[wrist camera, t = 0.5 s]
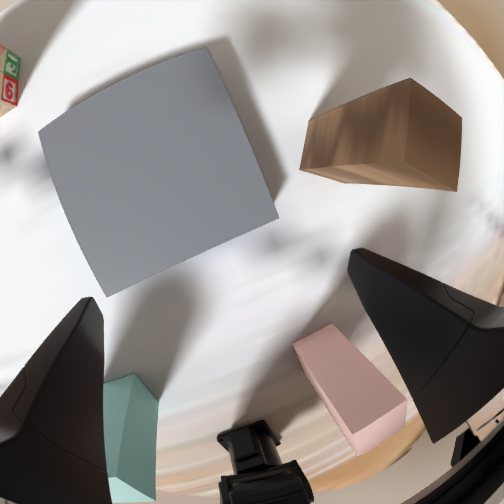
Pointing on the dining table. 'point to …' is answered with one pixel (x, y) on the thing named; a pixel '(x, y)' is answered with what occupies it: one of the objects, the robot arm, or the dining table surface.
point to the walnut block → (387, 140)
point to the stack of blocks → (8, 80)
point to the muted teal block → (130, 439)
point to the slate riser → (155, 171)
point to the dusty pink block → (351, 389)
